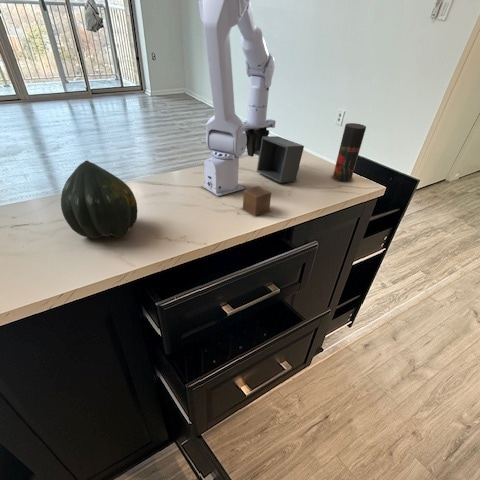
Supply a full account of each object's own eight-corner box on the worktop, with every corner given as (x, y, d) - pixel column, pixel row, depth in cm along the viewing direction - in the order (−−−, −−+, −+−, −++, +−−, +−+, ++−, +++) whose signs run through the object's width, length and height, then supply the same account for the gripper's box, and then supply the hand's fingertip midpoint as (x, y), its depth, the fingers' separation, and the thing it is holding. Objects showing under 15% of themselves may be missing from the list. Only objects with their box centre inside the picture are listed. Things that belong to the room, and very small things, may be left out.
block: (255, 216, 81) (256, 197, 78) (242, 208, 84) (243, 190, 80) (269, 211, 84) (271, 192, 80) (256, 204, 86) (258, 185, 83)
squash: (111, 234, 61) (119, 155, 60) (40, 227, 63) (47, 150, 62) (143, 248, 75) (149, 184, 74) (84, 242, 77) (90, 180, 76)
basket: (295, 181, 100) (280, 182, 96) (259, 164, 109) (244, 165, 105) (304, 145, 93) (288, 146, 89) (265, 131, 102) (249, 131, 98)
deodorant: (353, 182, 101) (368, 129, 91) (334, 181, 101) (348, 127, 91) (348, 175, 105) (363, 123, 95) (331, 174, 105) (343, 122, 95)
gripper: (266, 100, 99) (262, 148, 108) (229, 104, 92) (228, 155, 101) (282, 105, 95) (276, 154, 105) (245, 109, 88) (242, 161, 98)
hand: (253, 155), depth 103 cm, fingers closed
